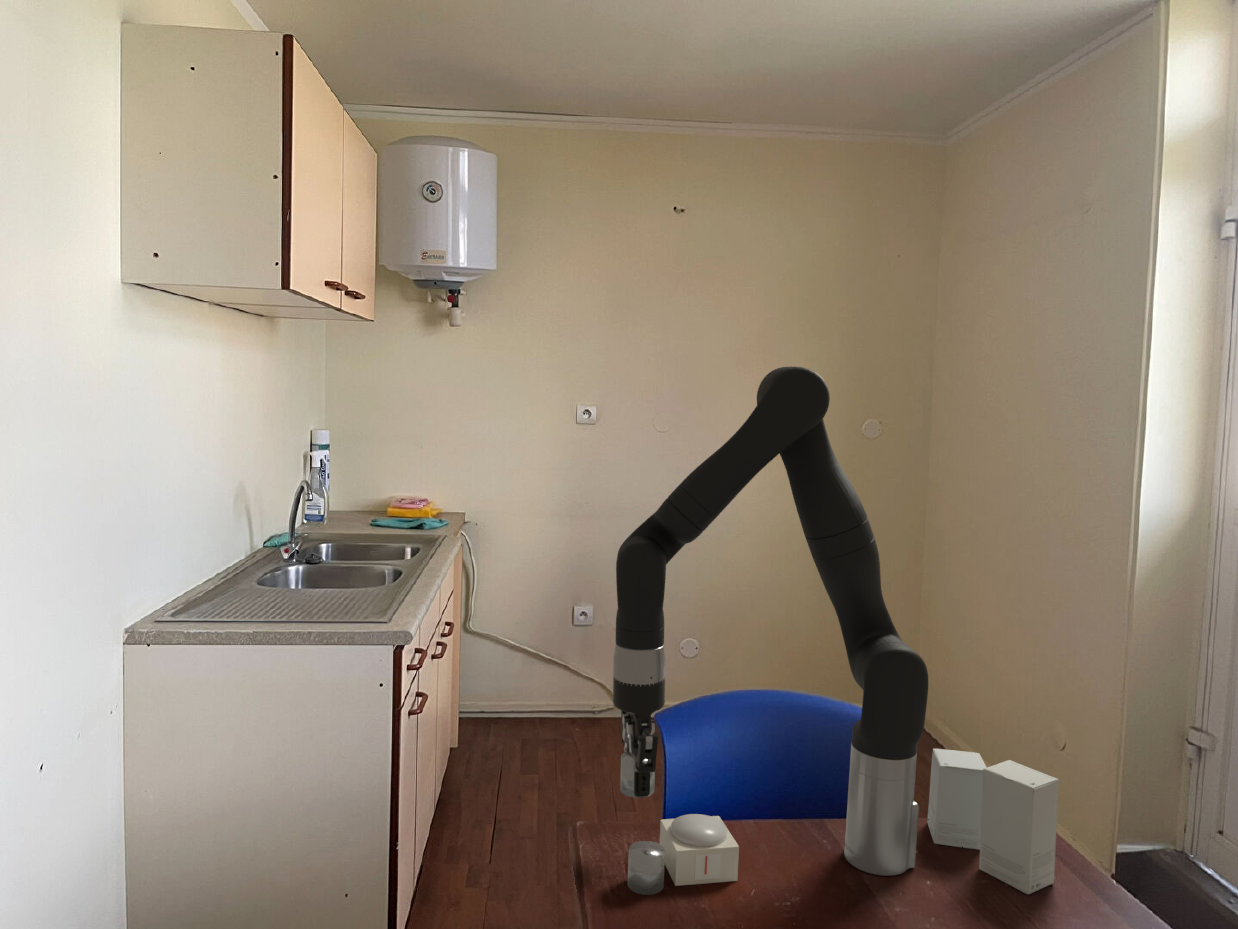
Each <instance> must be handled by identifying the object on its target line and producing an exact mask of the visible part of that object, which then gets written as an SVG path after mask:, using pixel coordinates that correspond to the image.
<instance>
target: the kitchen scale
mask: <svg viewBox="0 0 1238 929" xmlns="http://www.w3.org/2000/svg"><path fill="white" fill-rule="evenodd" d="M659 826H660V827H659V828H660V829H659V844H660V845H662V846H663V847H664V849H665V867H666V869H667V872H668V874H669V876H670V877H671V880H672V882H673V884H674V886H675V887H678V886H688V885H689V886H691V885H701V884H713V883H715V884H716V883H726V882H738V876H739V873H738V872H739V856H740V846H739V844H738V843H737V841H736V840H735V838H734V836H733V835H732V833H731V832H730V831H729V829H728V828H727V825H726V824H725V822H724V821H723V820H722V818H721V816H719V815H712V816H711V815H707V814H699V813H689V814H684V815H680V816H677V817H676V818H666V819H663V818H662V819H660V824H659Z"/></svg>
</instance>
